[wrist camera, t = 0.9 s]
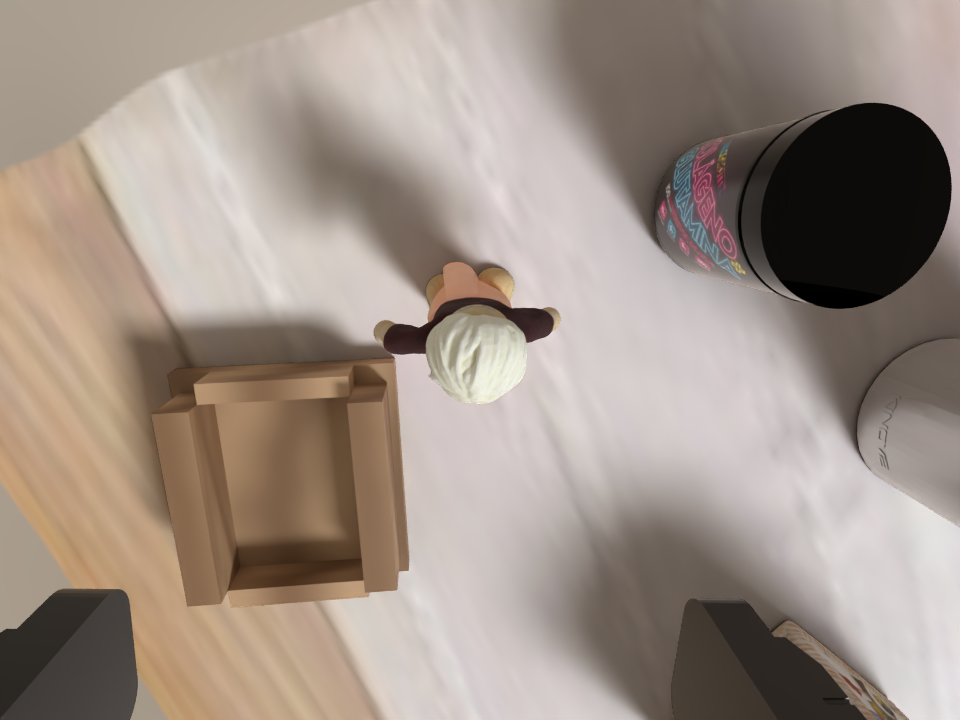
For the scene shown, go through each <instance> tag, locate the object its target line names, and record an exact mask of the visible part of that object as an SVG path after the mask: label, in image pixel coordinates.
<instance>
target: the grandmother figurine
mask: <svg viewBox="0 0 960 720" xmlns="http://www.w3.org/2000/svg"><path fill="white" fill-rule="evenodd" d="M513 291H514V280H513V278H512V276H511V275H510V274H509V273H508V272H507V271H505V270H503V269H500V268H488V269H485V270H484V271H482V272H481V273H480V274H479V276H478V277H477V275H476V273H475V272H474V270H473V269H472V268H471V267H470V266H469V265H467V264H465V263H461V262H452V263H448V264H446V265H445V266H444V268H443V274H439V275H437V276H435V277H433V278H432V279H431V280H430V281H429V283H428V284H427V288H426V296H427V299H428V302H429V305H430V309H429V313H428V323H427V324H425V325H423V326H422V327H420V328H418V327H414V326H412V325H404V324H395V323H393V322H391V321H388V320H384V321H381V322H379V323H378V324H377V325H376V326H375V328H374V336H375V339H376V340H377V341H378V342H379V343H381V344H383V345H384V348H385V349H386V350H387V351H388V352H390V353H392V354H400V355H404V354H412V353H416V354H426V357H427V361H428V364H429V367H430V369H431V374H430V375H429V377H430V378H431V379H432V380H434V381H435V382H436V383H437V384H439V385H440V386H441V387H442V388H443V389H444V391H445V392H446V393H447V394H448V395H449V396H450V397H452V398H454V399H456V400H458V401H460V402H463V403H476V404H485V403H490V402H492V401H494V400H496V399H497V398H499V397H500V396H501V395H503V394H505V393H506V392H507V391H509V390H510V389H511V388H513V387H514V386H515V385H517V384H518V383H519V382H520V381H521V379H522V377H523V375H524V372H525V369H526V362H527V343H529V342H533V341H535V340H537V339H540V338H544V337H546V336H548V335H549V334H550V333H551V332H552V331H553V330H555V329H556V328H557V327H558V326H559V324H560V321H561V317H560V314H559V312H558V311H557V310H556V309H554V308H551V307H547V308H544V309H537V308H513V309H512V307H511V304H510V299H511V297H512V294H513Z"/></svg>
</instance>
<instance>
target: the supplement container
mask: <svg viewBox="0 0 960 720" xmlns="http://www.w3.org/2000/svg"><path fill="white" fill-rule="evenodd" d="M951 190H952V185H951V173H950V167H949V163H948V159H947V156H946V154H945V151H944V148H943V147H942V145H941V143H940V141H939V139H938V138H937V136H936V135H935V133H934V132H933V131H932V130H931V128H930V127H929V126H928V125H927V124H926V123H925V122H924V121H922V120H921V119H920V118H919V117H917V116H916V115H914V114H913V113H911V112H909V111H907V110H905V109H902V108H900V107H897V106H893V105H889V104H882V103H863V104H856V105H851V106H847V107H843V108H839V109H833V110H827V111H822V112H818V113H814V114H811V115H808V116H806V117H803V118H800V119H796V120H792V121H788V122H783V123H779V124H775V125H771V126H766V127H762V128H758V129H754V130H749V131H745V132H741V133H737V134H732V135H728V136H724V137H720V138H715V139H711V140H708V141H704V142H702V143H699V144H697V145H695V146H693V147H691V148H690V149H688V150H687V151H685V152H684V153H683V154H682V155H680V156H679V157H678V158H677V159H676V160H675V161H674V162H673V164H672V165H671V166H670V167H669V169H668V170H667V172H666V173H665V175H664V177H663V178H662V180H661V183H660V185H659V187H658V190H657V193H656V197H655V202H654V211H653V217H654V227H655V231H656V235H657V238H658V240H659V242H660V244H661V246H662V248H663V250H664V251H665V253H666V254H667V255H668V256H669V258H670V259H671V260H672V261H673V262H675V263H676V264H677V265H678V266H680V267H682V268H683V269H685V270H687V271H690V272H692V273H695V274H699V275H703V276H707V277H711V278H715V279H719V280H723V281H727V282H730V283H734V284H738V285H742V286H746V287H750V288H754V289H758V290H762V291H766V292H769V293H773V294H777V295H779V296H781V297H784V298H787V299H790V300H794V301H798V302H805V303H809V304H812V305H816V306H821V307H825V308H834V309H845V308H854V307H859V306H863V305H866V304H869V303H873V302H875V301H877V300H880V299H882V298H884V297H886V296H887V295H889V294H891V293H893V292H894V291H896V290H897V289H899V288H900V287H901V286H902V285H904V284H905V283H906V282H908V281H909V280H910V279H911V278H912V277H913V276H914V275H915V274H916V273H917V272H918V271H919V269H920V268H921V267H922V266H923V265H924V263H925V262H926V261H927V260H928V258H929V257H930V255H931V254H932V252H933V250H934V249H935V247H936V245H937V243H938V241H939V239H940V237H941V235H942V232H943V230H944V227H945V224H946V221H947V218H948V214H949V209H950V203H951Z"/></svg>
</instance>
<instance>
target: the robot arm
mask: <svg viewBox="0 0 960 720" xmlns="http://www.w3.org/2000/svg"><path fill="white" fill-rule="evenodd" d="M857 439H858V445H859V450H860V453H861V455H862V457H863V459H864V461H865V463H866V465H867V466H868V467H869V468H870V469H871V471H872V472H873V473H874V474H875V475H876V476H878V477H879V478H881V479H882V480H884V481H885V482H887V483H888V484H890V485H891V486H893V487H895V488H896V489H898V490H900V491H901V492H903V493H905V494H906V495H908V496H910V497H911V498H913V499H915V500H916V501H918V502H919V503H921V504H923V505H924V506H926V507H928V508H929V509H931V510H933V511H934V512H935V513H937V514H939V515H940V516H942V517H943V518H945V519H947V520H948V521H950V522H952V523H953V524H955V525H957V526H958V527H960V339H957V338H954V339H939V340H935V341H931V342H927V343H923V344H921V345H919V346H917V347H915V348H912V349H910V350H908V351H906V352H905V353H904V354H902V355H901V356H899V357H898V358H896V359H895V360H894V361H892V362H891V363H890V364H889V365H888V366H887V367H886V368H885V369H884V370H883V371H882V372H881V373H880V374H879V376H878V377H877V378H876V380H875V381H874V383H873V384H872V385H871V387H870V388H869V390H868V392H867V394H866V397H865V399H864V401H863V403H862V405H861V409H860V413H859V417H858V423H857ZM137 687H138V679H137V669H136V659H135V650H134V640H133V631H132V621H131V612H130V603H129V599H128V596H127V594H126V593H125V592H124V591H123V590H120V589H61V590H58V591H56V592H55V593H53V594H52V595H51V596H50V597H49V598H48V599H47V600H46V601H45V602H44V603H43V604H42V605H41V606H40V607H39V608H38V609H37V610H36V611H35V612H34V613H33V614H32V615H31V616H30V617H29V618H27V619H26V620H25V622H23V624H21V626H19V627H18V628H17V629H6V630H4V631H3V632H1V633H0V720H130V718H131V716H132V713H133V709H134V705H135V701H136V696H137ZM671 700H672V708H673V714H674V719H675V720H867V719H866V718H865V717H864V715H863V714H862V713H861V712H860V711H859V709H858V708H857V707H856V706H855V705H851V704H850V702H849V697H848V696H847V695H846V694H845V692H844V691H843V690H842V689H841V688H840V686H839V685H838V684H837V683H836V682H835V680H834V679H833V678H832V677H831V676H830V674H829V673H828V672H827V671H826V670H825V668H824V667H823V666H822V665H821V664H820V663H819V662H817V661H816V660H815V659H813V658H812V657H811V656H809V655H808V654H807V653H805V652H804V651H803V650H801V649H800V648H799V647H797V646H796V645H795V644H793V643H792V642H791V641H789V640H788V639H787V638H785V637H774V635H773V634H772V633H771V632H770V630H769V629H768V628H767V626H766V625H765V624H764V623H763V621H762V620H761V619H760V617H759V616H758V615H757V613H756V612H755V611H754V610H753V608H752V607H751V606H750V605H749V604H748V603H747V602H746V601H744V600H742V599H694V598H692V599H690V600H689V601H688V602H687V604H686V606H685V609H684V614H683V619H682V625H681V631H680V637H679V643H678V649H677V654H676V660H675V666H674V672H673V678H672V685H671Z"/></svg>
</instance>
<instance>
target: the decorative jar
mask: <svg viewBox="0 0 960 720" xmlns="http://www.w3.org/2000/svg"><path fill="white" fill-rule="evenodd" d="M772 634H773V635H774V637H785V638H787V639H788V640H789V641H791V642H792V643H793V644H795V645H796V646H797V647H799V648H800V649H801V650H803V651H804V652H805V653H807V654H808V655H809V656H811V657H812V658H813V659H815V660H816V661H817V662H819V663H820V664H821V665H822V666H823V667H824V668H825V670H826V671H827V672H828V673H829V674H830V676H831V677H832V678H833V679H834V680H835V682H836V683H837V684H838V685H839V686H840V688H841V689H842V690H843V691H844V692H845V694H846V695H847V696H848V697H849V702H850V704H851V705H855V706H856V707H857V708H858V709H859V711H860V712H861V713H862V714H863V715H864V717H865V718H866V719H867V720H909V719H908V718H907V717H906V716H905V715H904V714H903V713H902V712H901V711H900V710H899V709H898V708H897V707H896V706H895V705H894V704H893V703H892V702H891V701H890V700H888V699H887V698H886V697H885V696H884V695H882V694H881V693H880V692H879V691H877V690H876V689H875V688H874V687H873V686H872V685H870V684H869V683H868V682H867V681H866V680H865V679H863V678H862V677H861V676H860V675H859V674H858V673H856V672H855V671H854V670H853V669H851V668H850V667H849V666H847V665H846V664H845V663H844V662H843V661H842V660H840V659H839V658H838V657H837V656H835V655H834V654H833V653H832V652H831V651H829V650H828V649H827V648H826V647H825V646H823V645H822V644H821V643H820V642H818V641H817V640H816V639H814V638H813V637H812V636H811V635H809V634H808V633H807V632H806V631H804V630H803V629H802V628H800V627H799V626H798V625H797V624H795V623H794V622H792V621H785V622H783V623H782V624H781V625H780V626H779V627H778V628H776V629H775V630H774V631H773V632H772Z"/></svg>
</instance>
